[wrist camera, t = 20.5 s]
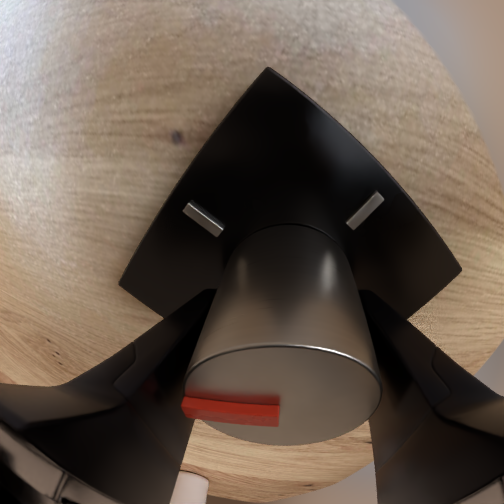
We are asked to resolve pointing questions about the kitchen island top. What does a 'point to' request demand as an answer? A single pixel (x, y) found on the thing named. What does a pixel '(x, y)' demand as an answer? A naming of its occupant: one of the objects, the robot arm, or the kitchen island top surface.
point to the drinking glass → (190, 489)
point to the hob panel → (287, 205)
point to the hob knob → (284, 344)
